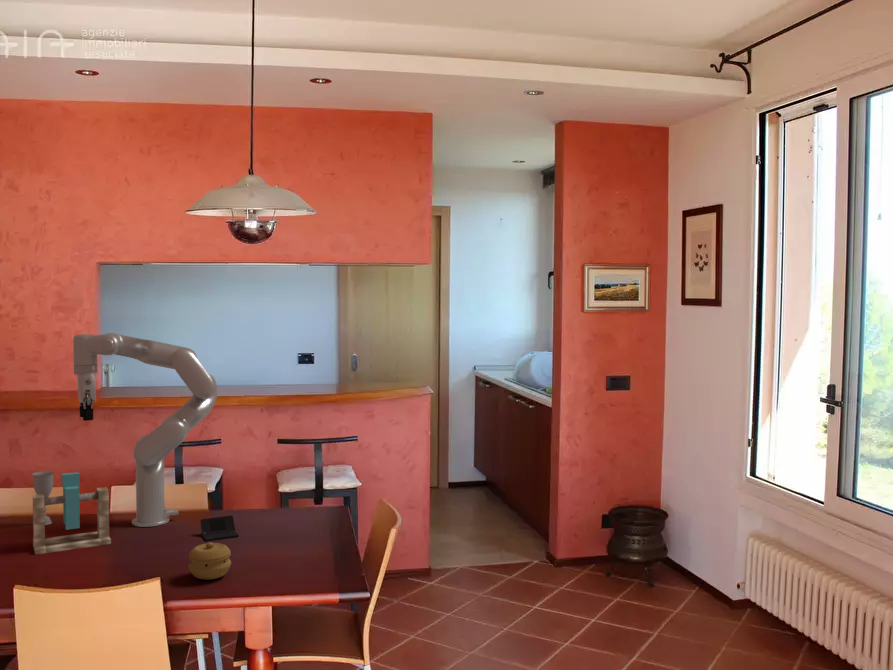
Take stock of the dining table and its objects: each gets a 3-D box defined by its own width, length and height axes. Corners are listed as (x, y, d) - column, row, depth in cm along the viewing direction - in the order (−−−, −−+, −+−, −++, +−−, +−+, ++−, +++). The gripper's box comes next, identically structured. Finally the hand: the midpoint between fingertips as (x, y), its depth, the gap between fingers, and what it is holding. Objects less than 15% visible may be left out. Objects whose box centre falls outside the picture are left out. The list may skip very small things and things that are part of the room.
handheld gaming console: (208, 538, 261) (205, 510, 266) (201, 547, 265) (197, 520, 270) (242, 537, 268) (237, 510, 273) (233, 546, 272) (229, 519, 277)
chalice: (59, 521, 287) (58, 471, 286) (48, 526, 280) (47, 475, 279) (40, 520, 287) (39, 471, 287) (28, 525, 281) (27, 475, 280)
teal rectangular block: (78, 520, 264) (77, 470, 263) (81, 527, 257) (80, 475, 256) (61, 522, 262) (61, 471, 261) (64, 529, 254) (63, 477, 253)
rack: (105, 534, 270) (105, 485, 269) (110, 543, 260) (110, 492, 259) (32, 544, 259) (31, 492, 258) (35, 554, 249) (34, 500, 248)
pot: (237, 578, 227) (237, 544, 227) (196, 587, 220) (196, 551, 220) (223, 567, 237) (222, 534, 236) (183, 575, 230) (182, 541, 230)
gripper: (100, 371, 271) (101, 421, 272) (94, 367, 286) (94, 414, 287) (76, 372, 268) (77, 422, 268) (71, 368, 283) (72, 416, 283)
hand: (86, 418), depth 278 cm, fingers open, 9 cm apart
